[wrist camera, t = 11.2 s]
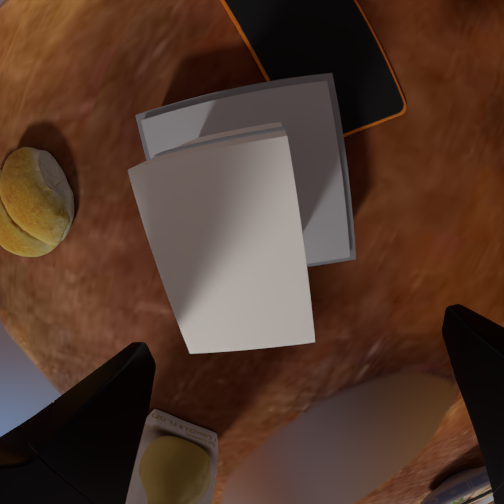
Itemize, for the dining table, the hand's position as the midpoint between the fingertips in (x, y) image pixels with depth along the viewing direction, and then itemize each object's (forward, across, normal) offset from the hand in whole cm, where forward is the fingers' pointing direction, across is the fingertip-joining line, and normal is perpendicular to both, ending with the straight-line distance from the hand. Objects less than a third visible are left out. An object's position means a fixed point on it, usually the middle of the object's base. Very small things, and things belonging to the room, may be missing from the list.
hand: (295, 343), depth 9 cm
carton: (+9, +2, -2) cm, 9 cm away
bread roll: (+13, +19, -4) cm, 23 cm away
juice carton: (+13, +15, +24) cm, 31 cm away
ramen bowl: (+14, -27, +55) cm, 63 cm away
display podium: (+13, +2, -2) cm, 13 cm away
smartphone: (+13, -3, -12) cm, 18 cm away
